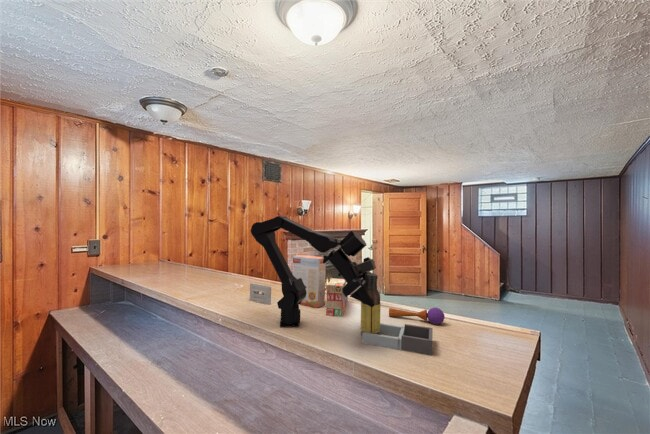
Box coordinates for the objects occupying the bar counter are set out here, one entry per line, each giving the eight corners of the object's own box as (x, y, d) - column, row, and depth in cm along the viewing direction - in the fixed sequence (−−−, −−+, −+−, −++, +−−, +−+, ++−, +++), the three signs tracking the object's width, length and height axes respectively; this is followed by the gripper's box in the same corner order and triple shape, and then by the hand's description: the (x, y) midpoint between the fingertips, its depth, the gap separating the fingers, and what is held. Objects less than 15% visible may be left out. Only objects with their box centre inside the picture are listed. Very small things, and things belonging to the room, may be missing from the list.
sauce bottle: (379, 333, 98) (381, 272, 98) (380, 340, 92) (383, 276, 92) (359, 331, 99) (362, 271, 99) (359, 338, 93) (362, 275, 93)
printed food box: (334, 301, 136) (334, 274, 136) (347, 302, 135) (348, 275, 135) (325, 315, 115) (326, 284, 115) (341, 317, 114) (342, 285, 114)
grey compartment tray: (362, 343, 91) (362, 329, 91) (369, 330, 101) (370, 318, 101) (432, 355, 84) (432, 341, 84) (432, 340, 94) (432, 327, 94)
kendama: (391, 304, 120) (444, 307, 112) (391, 319, 119) (445, 324, 111) (388, 305, 115) (443, 308, 107) (388, 321, 114) (444, 326, 105)
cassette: (271, 304, 128) (272, 286, 128) (268, 305, 127) (269, 287, 127) (251, 299, 134) (252, 282, 134) (248, 300, 133) (249, 283, 133)
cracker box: (325, 305, 129) (326, 257, 129) (317, 308, 124) (319, 258, 124) (299, 299, 136) (300, 254, 136) (291, 302, 131) (292, 255, 131)
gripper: (354, 252, 88) (390, 295, 84) (367, 247, 105) (397, 282, 102) (328, 276, 91) (361, 318, 87) (345, 267, 108) (373, 301, 104)
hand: (375, 303), depth 95 cm, fingers closed on sauce bottle, 6 cm apart
